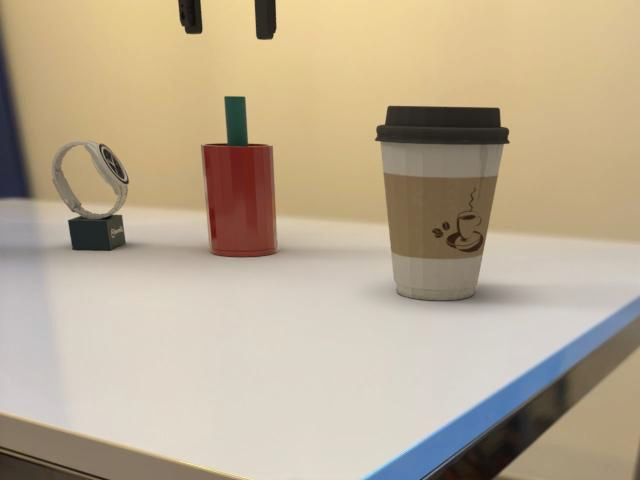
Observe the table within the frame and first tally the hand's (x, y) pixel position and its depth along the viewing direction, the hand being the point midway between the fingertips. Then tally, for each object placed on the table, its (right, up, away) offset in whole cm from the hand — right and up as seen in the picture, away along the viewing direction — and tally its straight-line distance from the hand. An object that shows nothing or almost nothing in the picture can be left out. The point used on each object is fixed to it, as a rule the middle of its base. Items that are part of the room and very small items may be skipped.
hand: (230, 36), depth 79 cm
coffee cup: (+20, -28, -8) cm, 36 cm away
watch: (-17, -18, +11) cm, 27 cm away
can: (0, -19, +10) cm, 21 cm away
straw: (0, -18, +9) cm, 20 cm away
